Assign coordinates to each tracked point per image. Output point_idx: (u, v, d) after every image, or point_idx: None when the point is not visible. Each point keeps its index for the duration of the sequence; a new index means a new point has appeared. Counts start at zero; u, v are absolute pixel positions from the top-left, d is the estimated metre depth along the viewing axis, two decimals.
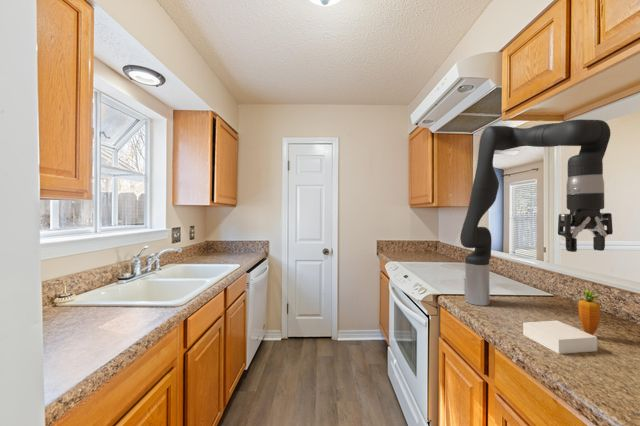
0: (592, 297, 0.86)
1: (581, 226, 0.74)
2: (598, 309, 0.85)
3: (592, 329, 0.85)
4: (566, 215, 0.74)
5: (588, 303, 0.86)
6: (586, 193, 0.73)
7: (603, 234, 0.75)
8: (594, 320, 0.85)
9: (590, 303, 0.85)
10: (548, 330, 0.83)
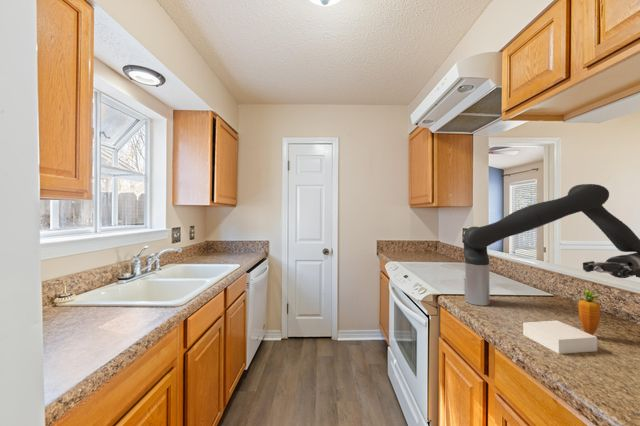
0: (592, 297, 0.86)
1: None
2: (598, 309, 0.85)
3: (592, 329, 0.85)
4: None
5: (588, 303, 0.86)
6: None
7: (592, 270, 0.97)
8: (594, 320, 0.85)
9: (590, 303, 0.85)
10: (548, 330, 0.83)
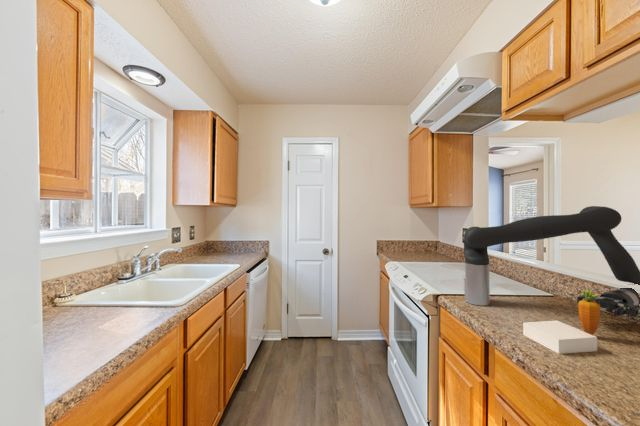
0: (592, 297, 0.86)
1: None
2: (598, 309, 0.85)
3: (592, 329, 0.85)
4: None
5: (588, 303, 0.86)
6: None
7: None
8: (594, 320, 0.85)
9: (590, 303, 0.85)
10: (548, 330, 0.83)
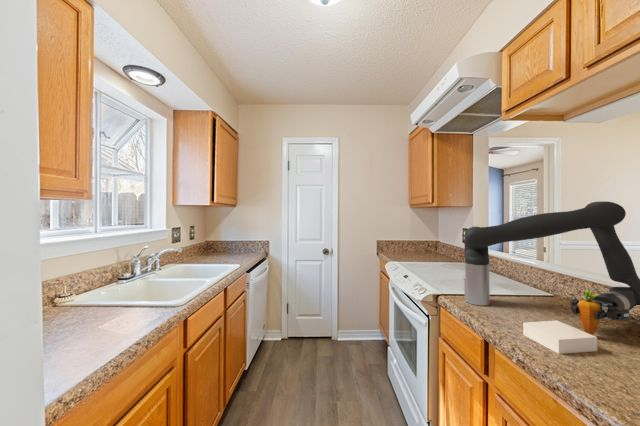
0: (592, 297, 0.86)
1: None
2: (598, 309, 0.85)
3: (592, 329, 0.85)
4: (628, 317, 0.84)
5: (588, 303, 0.86)
6: None
7: None
8: (594, 320, 0.85)
9: (590, 303, 0.85)
10: (548, 330, 0.83)
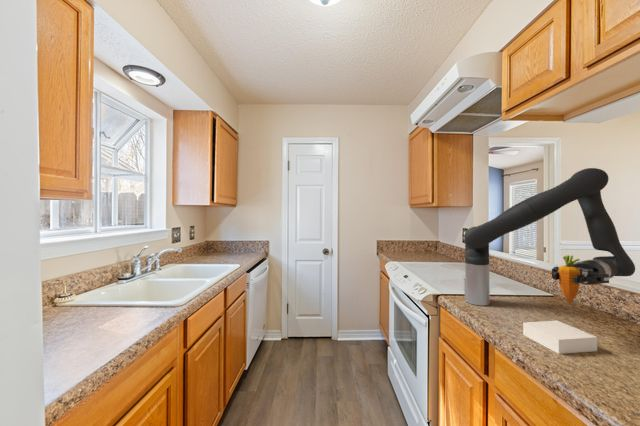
0: (572, 262, 0.84)
1: None
2: (578, 273, 0.83)
3: (572, 294, 0.83)
4: (608, 281, 0.82)
5: (568, 268, 0.84)
6: None
7: None
8: (573, 285, 0.83)
9: (570, 268, 0.83)
10: (548, 330, 0.83)
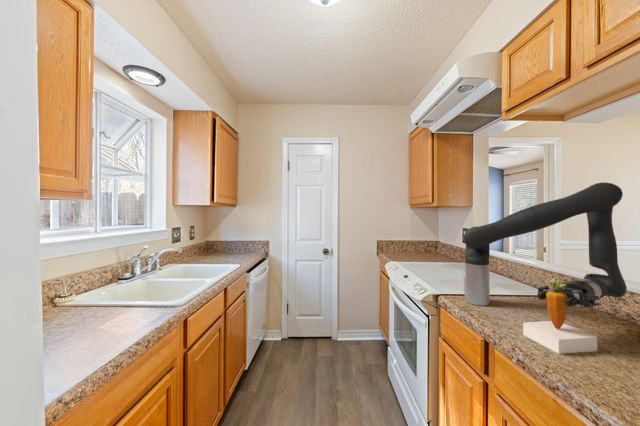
0: (559, 287, 0.83)
1: None
2: (565, 300, 0.82)
3: (560, 321, 0.82)
4: (598, 304, 0.81)
5: (555, 294, 0.83)
6: None
7: None
8: (561, 312, 0.82)
9: (557, 294, 0.82)
10: (548, 330, 0.83)
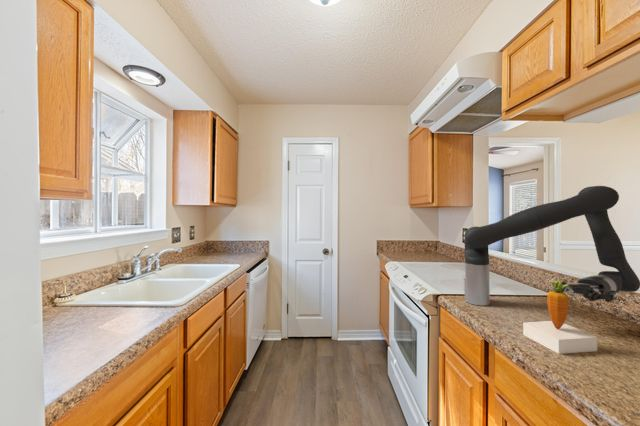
0: (561, 288, 0.83)
1: None
2: (566, 300, 0.82)
3: (560, 321, 0.82)
4: (615, 298, 0.85)
5: (556, 294, 0.82)
6: None
7: None
8: (562, 312, 0.82)
9: (558, 294, 0.82)
10: (548, 330, 0.83)
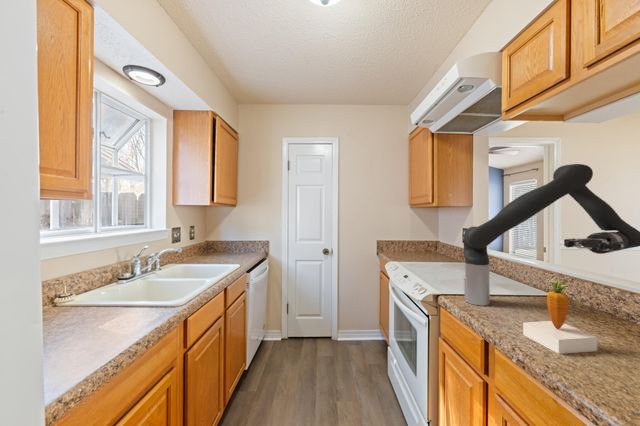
0: (560, 288, 0.83)
1: (604, 250, 0.94)
2: (566, 300, 0.81)
3: (560, 321, 0.82)
4: (623, 248, 0.92)
5: (556, 294, 0.82)
6: (613, 250, 0.98)
7: (573, 246, 0.99)
8: (562, 312, 0.82)
9: (558, 294, 0.82)
10: (548, 330, 0.83)
